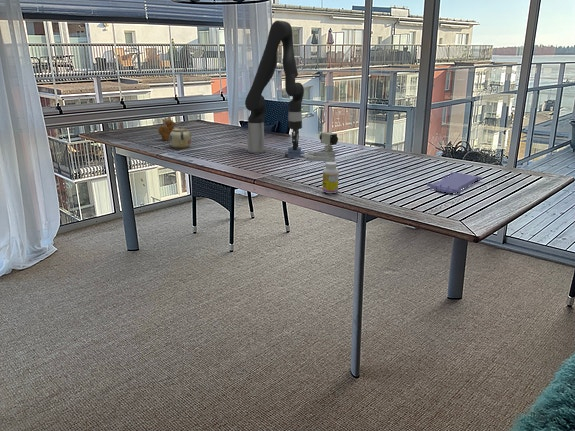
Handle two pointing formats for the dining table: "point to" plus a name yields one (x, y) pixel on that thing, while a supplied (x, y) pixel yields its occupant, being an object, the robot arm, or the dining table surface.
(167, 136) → the stuffed squirrel
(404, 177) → the dining table surface
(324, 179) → the supplement bottle
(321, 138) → the pneumatic valve
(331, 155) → the plate
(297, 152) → the block
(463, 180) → the computer part
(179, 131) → the teapot
